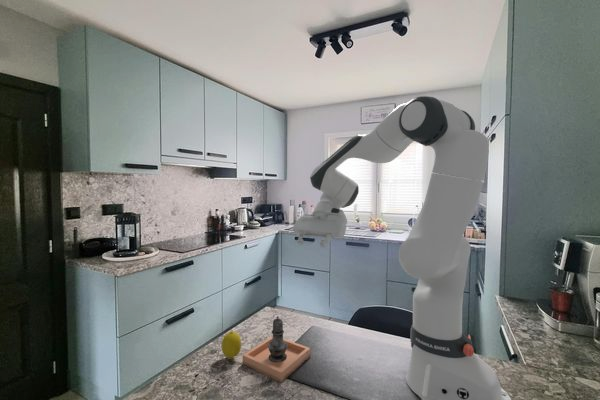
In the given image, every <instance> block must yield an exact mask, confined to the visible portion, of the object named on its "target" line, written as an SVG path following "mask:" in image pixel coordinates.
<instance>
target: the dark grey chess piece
mask: <svg viewBox="0 0 600 400" xmlns="http://www.w3.org/2000/svg"><path fill="white" fill-rule="evenodd" d="M283 325H284V321H283V320H282V319H281V318H280V316H279V315H277V316H276V318H275V319H273V321H272V331H271V334H272V336H273V339H272V341H271V342H269V343H268V348H269V351H270V353H271V354H270V355H269V360H270V361H272V362H276V363H278V362H283V361H284V360H286V358H287V355H286V354H285V352H286V349H287V346H288V344H287V342H286V341H283V338H284V333H285V331H284V328H283V327H284V326H283Z"/></svg>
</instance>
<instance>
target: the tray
mask: <svg viewBox="0 0 600 400" xmlns="http://www.w3.org/2000/svg"><path fill="white" fill-rule="evenodd" d="M272 339H273V335H272V336H271V337H268V338H267V339H266V340H263V342H261V343H259V344H257V345H256V346H254V347H253V348H252V349H250V350H249V351H247V352H245V353H244V354H242V364H243V365H245V366H247V367H249V368H251V369H253V370H255V371H257V372H259V373H260V374H263V375H265V376H267V377H269V378H272V379H274V380H275V381H277V382H280V383H282V382H284V380H286V379H287V378H288V377H289V376H290V375H292V373H295V371H296V370H297V369H299V368H300V366H302V365H303V364H304V363H305V362H306V361H307V360H308V359H310V358H311V347H308V346H305V345H303V344H300V343H297V342H294V341H291V340H290V339H286V338H284V337H283V341H286V342H287V344H288V346H287V349H286V352H285V354H286V355H287V358H286V360H284V361H283V362H278V363H276V362H272V361H270V360H269V355H270V354H271V353H270V351H269V348H268V343H269V342H271V341H272ZM305 360H306V361H305ZM304 361H305V362H304ZM303 362H304V363H303ZM302 363H303V364H302Z"/></svg>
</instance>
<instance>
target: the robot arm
mask: <svg viewBox="0 0 600 400" xmlns="http://www.w3.org/2000/svg"><path fill="white" fill-rule="evenodd" d="M414 142H416V143H418V144H420V145H422V146H425V147H431V148H432V149H433V150H434V154H435V155H434V156H435V158H434V164H433V167H432V170H431V174H430V179H429V183H428V186H427V190H426V194H425V199H424V202H423V203H422V207H421V208H420V211H419V213H418V214H417V217H416V219H415V222H414V224H413V226H412V228H411V229H410V232H409V234H408V236H407V238H406V239H405V240H404V241H403V242H402V244H401V245H400V246H399V250H398V261H399V265H400V266H401V268H402V269H403V271H404V272H405V273H406V274H407V275H409V276H410V277H411V278H413V279H418V281H417V284H416V287H415V289H414V292H413V293H412V294H413V295H412V323H411V325H410V327H411V328H410V347H411V353H410V360H409V361H410V362H409V366H408V369H407V372H406V376H405V381H406V384H407V386H408V387H409V388H410V390H412V391H413V393H414V394H415V395H417V396H418V397H419V398H420V400H512V398H511V396H510V395H509V394H508V392H507V391H506V390H505V389H503V387H501V384H500V381H499V378H498V376H497V374H496V372H495V371H494V369H493V368H492V367H491V366H490V365H488V364H487V362H485V361H484V360H483V359H481V357H479V356H478V355H477V354H476V353H475V352H474V346H473V341H472V340H471V335H470V334H468V336H467V335H466V334H465V333H464V332H463V299H464V292H465V287H466V280H467V275H468V274H467V273H468V267H469V266H468V265H469V260H470V256H471V251H472V249H471V248H472V247H471V245H470V244H471V243H470V242H469V240H468V238H466V237H465V236H464V234H465V231H466V229H467V227H468V226H469V223H470V222H471V220H472V218H473V217H474V215H475V212H476V209H477V205H478V202H479V199H480V195H481V192H482V187H483V184H484V181H485V176H486V172H487V167H488V162H489V161H488V160H489V153H490V149H489V148H490V147H489V146H490V143H489V139H488V137H487V136H486V135H485V134H483V133H482V132H480V131H477V130H476V124H475V121H474V119H473V118H472V116H471V115H470V114H469V113H468V112H467V111H465V110H462V109H460V108H459V107H456V106H455V105H454V104H452V103H450V102H448V101H445V100H441V99H437V98H436V97H434V96H427V95H425V96H416V97H414V98H411V99H410V100H409V101H408V102H406V103H402V104H400V105H398V106H397V107H396V108H394V109H393V110H392V111H391V112H389V114H387V115H386V116H385V118H383V119H382V120H381V122H379V124H377V125H376V127H375V128H374V129H373V130H372V131H370V132H368V133H366V134H357V135H355V136H353V137H351V138H350V139H349V140H348V141H346V142H345V143H344V144H343V145H341V146H340V147H339V148H338V149H337V150H336V151H334V152H333V153H332V154H331V155H330V156H329V157H327V159H325V160H323V161H322V162H321V163H320V164H318V165H317V166H316V167H315V168H314V169H313V170H312V172H311V174H310V177H309V179H310V182H311V183H310V184H311V186H312V187H313V188H315V189H317V190H318V191H321V192H322V194H321V196H320V199H319V202H317V204H316V206H315V208H314V209H313V211H312V214H303V215H301V216H299V218H298V219H297V220H296V221H295V222H294V224H293V225H292V231H293V233H294V234H295V235H296V236H298V238H297V241H296V242H297V244H298V245H303V244H304V242H305V241H304V239H303V238H304V237H305V236H306V237H313V238H324V239H321V241H320V243H319V244H320V247H321V248H326V247H327V245H328V244H329V243H330V242H331V241H333V239H338V240H339V239H343V238H344V236H345V234H346V232H347V231H346V230H347V224H348V219H347V217H346V214H345V211H343V210H342V209H343V208H347V207H350V206H351V205H353V204H354V202H355V201H356V199H357V197H358V195H359V189H360V188H359V184H358V183H357V182H356V181H354V180H353V179H351V178H350V177H348V176H346V175H345V174H344V173H342V172H341V171H339V170H338V169H337V168H338V167H339V166H340V165H342V164H343V163H344V162H346V161H347V160H348V159H359V160H360V159H361V160H365V161H367V162H370V163H375V164H387V163H390V162H392V161H394V160H395V159H396V158H398V157H399V156H400V155H401V154H403V152H404V151H405V150H407V148H408V147H409V146H410V145H411V144H412V143H414Z"/></svg>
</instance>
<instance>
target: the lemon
mask: <svg viewBox="0 0 600 400" xmlns="http://www.w3.org/2000/svg"><path fill="white" fill-rule="evenodd" d="M241 339H242V338H241V337H240V335H239V333H237V332H236V331H233V330H231V331H229V332H227V333H226V334H225V335H224V336H223V338H222V341H221V351H222V354H223V355H224V357H225V358H229V359H231V360H233V359H234V358H235V357H236V356H238V355H239V353H240V351H241V349H242V340H241Z"/></svg>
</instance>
